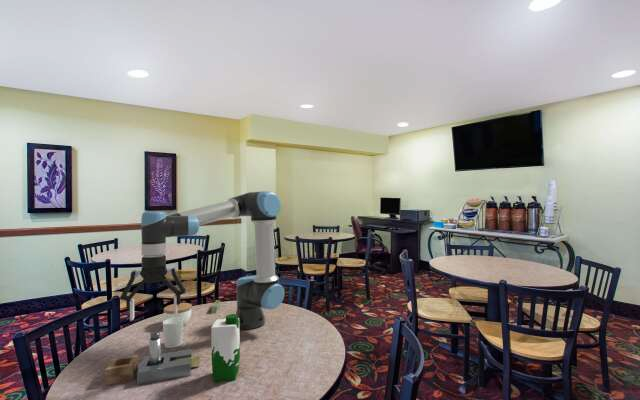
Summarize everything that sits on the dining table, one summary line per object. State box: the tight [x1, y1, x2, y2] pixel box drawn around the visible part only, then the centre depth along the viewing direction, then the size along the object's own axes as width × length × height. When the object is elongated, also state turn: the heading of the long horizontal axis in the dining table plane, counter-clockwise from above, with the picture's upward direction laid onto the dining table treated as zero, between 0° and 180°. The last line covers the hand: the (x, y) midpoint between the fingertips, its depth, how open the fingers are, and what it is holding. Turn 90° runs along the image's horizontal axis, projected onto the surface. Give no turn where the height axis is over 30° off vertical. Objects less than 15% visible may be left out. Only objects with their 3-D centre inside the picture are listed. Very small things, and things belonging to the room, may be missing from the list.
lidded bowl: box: [163, 302, 193, 327], centre depth 155 cm, size 13×13×11 cm
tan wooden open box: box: [104, 354, 139, 386], centre depth 109 cm, size 8×8×5 cm
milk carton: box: [210, 313, 241, 382], centre depth 108 cm, size 9×9×20 cm
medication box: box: [210, 299, 221, 314], centre depth 176 cm, size 12×3×4 cm, turn 8°
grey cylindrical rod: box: [148, 331, 162, 366], centre depth 110 cm, size 4×4×14 cm
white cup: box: [162, 318, 184, 349], centre depth 133 cm, size 8×8×10 cm
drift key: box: [176, 353, 201, 368], centre depth 114 cm, size 8×2×4 cm, turn 110°
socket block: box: [136, 348, 193, 386], centre depth 111 cm, size 16×12×4 cm
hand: (154, 316), depth 110 cm, fingers open, 13 cm apart
